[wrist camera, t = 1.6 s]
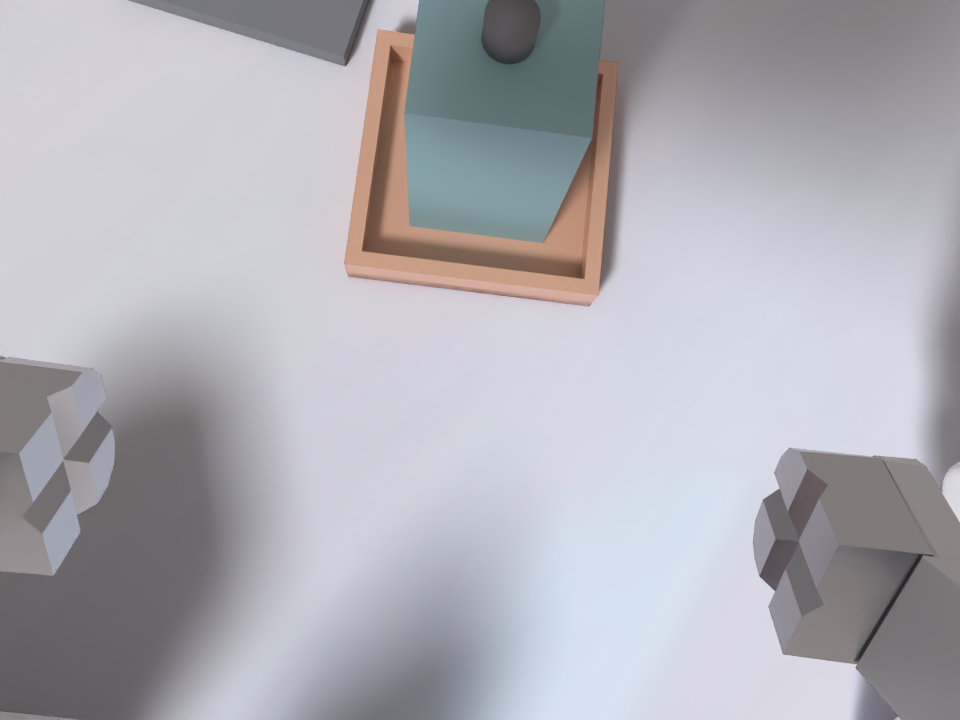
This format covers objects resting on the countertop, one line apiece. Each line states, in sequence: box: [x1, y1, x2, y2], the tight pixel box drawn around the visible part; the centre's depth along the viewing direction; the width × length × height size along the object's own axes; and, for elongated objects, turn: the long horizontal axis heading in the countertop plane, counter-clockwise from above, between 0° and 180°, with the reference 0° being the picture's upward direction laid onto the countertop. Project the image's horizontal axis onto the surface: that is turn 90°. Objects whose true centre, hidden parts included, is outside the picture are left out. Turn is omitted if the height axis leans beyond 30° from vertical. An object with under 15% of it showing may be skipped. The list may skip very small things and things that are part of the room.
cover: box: [404, 0, 605, 243], centre depth 29 cm, size 6×6×11 cm
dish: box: [344, 29, 618, 306], centre depth 33 cm, size 10×10×3 cm
